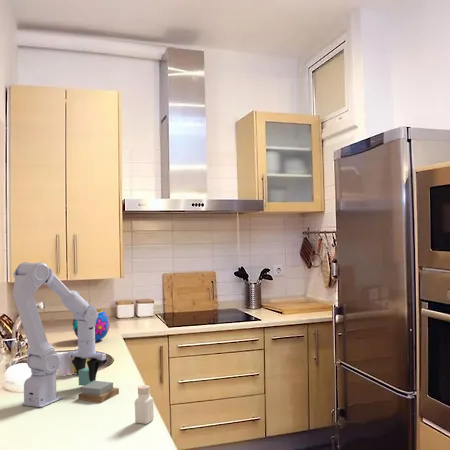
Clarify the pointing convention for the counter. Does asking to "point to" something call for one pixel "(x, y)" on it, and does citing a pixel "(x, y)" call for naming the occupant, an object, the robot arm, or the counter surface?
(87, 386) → the slate-grey block
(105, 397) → the walnut block
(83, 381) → the teal block
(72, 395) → the counter surface
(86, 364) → the supplement bottle
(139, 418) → the white square bottle
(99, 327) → the ceramic pot
